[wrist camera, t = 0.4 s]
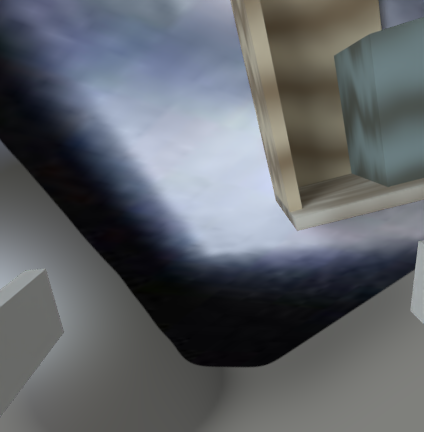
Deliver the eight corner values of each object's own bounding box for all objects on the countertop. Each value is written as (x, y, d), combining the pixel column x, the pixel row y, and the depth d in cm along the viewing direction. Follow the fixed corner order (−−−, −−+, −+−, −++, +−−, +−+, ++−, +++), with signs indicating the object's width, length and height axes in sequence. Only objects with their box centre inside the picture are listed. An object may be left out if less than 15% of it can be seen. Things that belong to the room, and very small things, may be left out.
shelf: (225, -20, 31) (227, -95, 20) (365, -68, 29) (446, -176, 19) (276, 200, 37) (297, 230, 27) (392, 170, 36) (463, 189, 25)
